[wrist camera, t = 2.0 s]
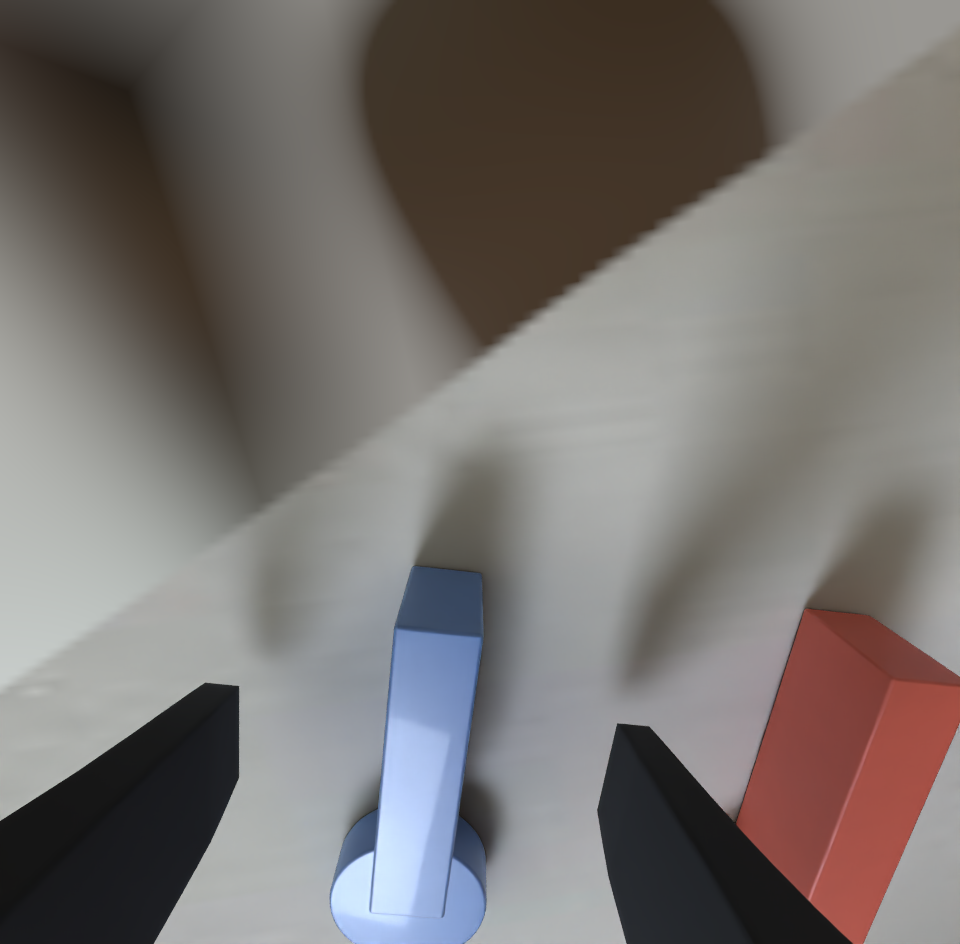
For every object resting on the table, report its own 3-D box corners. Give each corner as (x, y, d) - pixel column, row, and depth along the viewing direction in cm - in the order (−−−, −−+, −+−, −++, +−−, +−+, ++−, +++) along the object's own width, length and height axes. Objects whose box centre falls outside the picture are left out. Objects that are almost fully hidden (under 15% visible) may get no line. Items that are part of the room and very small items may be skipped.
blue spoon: (476, 917, 12) (476, 1041, 10) (337, 906, 12) (307, 1029, 10) (532, 577, 10) (548, 642, 8) (361, 558, 10) (328, 619, 7)
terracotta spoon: (791, 943, 12) (858, 1069, 10) (659, 932, 12) (698, 1057, 10) (917, 619, 10) (1036, 693, 8) (755, 601, 10) (834, 672, 8)
